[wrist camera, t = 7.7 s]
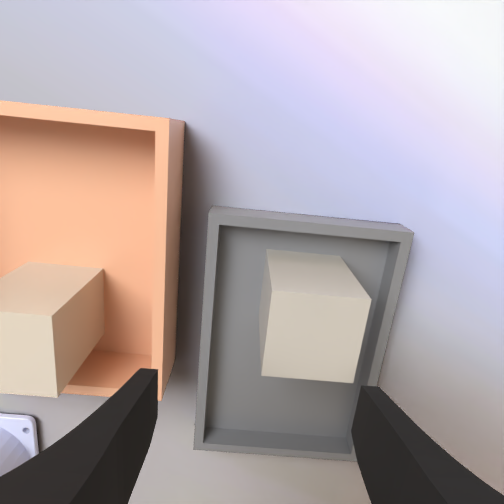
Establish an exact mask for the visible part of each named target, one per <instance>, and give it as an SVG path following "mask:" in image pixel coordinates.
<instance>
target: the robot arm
mask: <svg viewBox="0 0 504 504" xmlns="http://www.w3.org/2000/svg"><path fill="white" fill-rule="evenodd" d="M157 415H158V369H148V368H140V369H139V370H137V371H136V372H135V373H134V374H133V376H132V377H131V378H130V379H129V380H128V381H127V382H126V383H125V384H124V385H123V386H122V387H121V388H120V389H119V390H118V391H116V392H115V393H114V394H113V395H112V396H111V397H110V398H109V399H108V400H107V401H106V402H105V403H104V404H103V405H101V406H100V407H99V408H98V409H97V410H96V411H95V412H94V413H92V414H91V415H90V416H89V417H88V418H86V419H85V420H84V421H83V422H82V423H80V424H79V425H78V426H77V427H76V428H74V429H73V430H72V431H70V432H69V433H68V434H66V435H65V436H64V437H62V438H61V439H60V440H58V441H57V442H55V443H54V444H53V445H51V446H50V447H48V448H47V449H45V450H44V451H42V452H40V453H39V450H38V440H37V430H36V421H35V419H34V418H33V417H32V416H28V415H15V414H2V413H0V504H128V501H129V499H130V496H131V494H132V491H133V488H134V486H135V483H136V481H137V478H138V475H139V473H140V470H141V468H142V465H143V462H144V460H145V457H146V455H147V452H148V449H149V447H150V443H151V440H152V436H153V432H154V428H155V424H156V420H157ZM351 434H352V439H353V444H354V449H355V453H356V458H357V462H358V465H359V468H360V471H361V474H362V477H363V480H364V483H365V486H366V489H367V492H368V495H369V498H370V501H371V503H372V504H504V496H503V495H502V494H501V493H499V492H498V491H496V490H495V489H493V488H492V487H490V486H489V485H488V484H486V483H485V482H483V481H482V480H481V479H479V478H478V477H477V476H476V475H474V474H473V473H472V472H470V471H469V470H468V469H467V468H465V467H464V466H463V465H461V464H460V463H459V462H458V461H456V460H455V459H454V458H453V457H452V456H450V455H449V454H448V453H447V452H446V451H445V450H444V449H442V448H441V447H440V446H439V445H438V444H437V443H436V442H434V441H433V440H432V439H431V438H430V437H429V436H428V435H427V434H426V433H425V432H424V431H423V430H422V429H420V428H419V427H418V426H417V425H416V424H415V423H414V422H413V421H412V420H411V419H410V418H409V417H408V416H407V415H406V414H405V413H404V412H403V411H402V410H401V409H400V408H399V407H398V406H397V405H396V404H395V403H394V402H393V401H392V400H391V399H390V398H389V397H388V396H387V395H386V394H385V393H384V392H383V391H382V390H381V389H380V388H379V387H376V386H364V385H361V388H360V393H359V397H358V402H357V406H356V411H355V415H354V420H353V424H352V429H351Z"/></svg>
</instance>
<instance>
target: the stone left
mask: <svg viewBox="0 0 504 504" xmlns="http://www.w3.org/2000/svg"><path fill="white" fill-rule="evenodd" d="M104 333H105V323H104V281H103V268H93V267H82V266H71V265H61V264H50V263H39V262H27V263H25V264H23V265H22V266H20V267H18V268H17V269H15V270H13V271H11V272H10V273H8V274H6V275H5V276H3V277H1V278H0V393H6V394H19V395H31V396H43V397H56V398H58V396H59V395H60V394H61V392H62V391H63V389H64V388H65V387H66V385H67V384H68V383H69V381H70V380H71V379H72V377H73V376H74V374H75V373H76V372H77V370H78V369H79V368H80V366H81V365H82V363H83V362H84V361H85V359H86V358H87V357H88V355H89V354H90V352H91V351H92V350H93V348H94V347H95V346H96V344H97V343H98V341H99V340H100V339H101V337H102V336H103V335H104Z"/></svg>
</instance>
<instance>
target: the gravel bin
mask: <svg viewBox="0 0 504 504" xmlns="http://www.w3.org/2000/svg"><path fill="white" fill-rule="evenodd" d="M184 128H185V121H181V120H176V119H170V118H161V117H152V116H142V115H133V114H123V113H114V112H104V111H95V110H85V109H76V108H66V107H57V106H47V105H38V104H28V103H19V102H9V101H0V278H1V277H3V276H5V275H6V274H8V273H10V272H11V271H13V270H15V269H17V268H18V267H20V266H22V265H23V264H25V263H27V262H39V263H50V264H61V265H71V266H82V267H93V268H103V281H104V323H105V333H104V335H103V336H102V337H101V339H100V340H99V341H98V343H97V344H96V346H95V347H94V348H93V350H92V351H91V352H90V354H89V355H88V357H87V358H86V359H85V361H84V362H83V363H82V365H81V366H80V368H79V369H78V370H77V372H76V373H75V374H74V376H73V377H72V379H71V380H70V381H69V383H68V384H67V385H66V387H65V388H64V389H63V391H62V392H61V393H68V394H80V395H93V396H106V397H111V396H112V395H113V394H114V393H115V392H116V391H118V390H119V389H120V388H121V387H122V386H123V385H124V384H125V383H126V382H127V381H128V380H129V379H130V378H131V377H132V376H133V374H134V373H135V372H136V371H137V370H139V369H140V368H148V369H158V401H162V398H163V395H164V392H165V389H166V386H167V383H168V380H169V377H170V374H171V371H172V367H173V364H174V361H175V351H176V326H177V301H178V277H179V252H180V227H181V202H182V177H183V153H184Z"/></svg>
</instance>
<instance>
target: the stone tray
mask: <svg viewBox="0 0 504 504" xmlns="http://www.w3.org/2000/svg"><path fill="white" fill-rule="evenodd" d="M413 236H414V232H412V231H411V230H409V229H408V228H406V227H404V226H403V225H401V224H396V223H386V222H375V221H365V220H355V219H345V218H334V217H324V216H314V215H304V214H293V213H283V212H273V211H263V210H252V209H242V208H232V207H222V206H212V207H211V209H210V211H209V214H208V230H207V245H206V261H205V276H204V292H203V308H202V323H201V339H200V355H199V370H198V386H197V402H196V417H195V433H194V448H193V450H206V451H219V452H233V453H246V454H260V455H273V456H287V457H300V458H314V459H327V460H341V461H354V462H357V458H356V453H355V449H354V444H353V439H352V434H351V429H352V424H353V420H354V415H355V411H356V406H357V402H358V397H359V393H360V388H361V385H364V386H376V387H377V383H378V379H379V375H380V370H381V366H382V362H383V358H384V354H385V350H386V346H387V342H388V338H389V334H390V330H391V326H392V321H393V317H394V313H395V309H396V305H397V301H398V297H399V293H400V289H401V285H402V281H403V277H404V272H405V268H406V264H407V260H408V256H409V252H410V248H411V244H412V240H413ZM266 249H272V250H283V251H293V252H304V253H315V254H325V255H336V256H340V257H341V258H342V260H343V261H344V262H345V264H346V265H347V266H348V268H349V269H350V271H351V272H352V273H353V275H354V276H355V277H356V279H357V280H358V282H359V283H360V284H361V286H362V287H363V288H364V290H365V291H366V293H367V294H368V295H369V297H370V298H371V299H372V300H371V304H370V309H369V313H368V318H367V322H366V327H365V332H364V336H363V341H362V345H361V350H360V354H359V359H358V363H357V368H356V372H355V377H354V381H353V383H344V382H332V381H320V380H308V379H295V378H283V377H271V376H261V358H260V336H259V307H260V299H261V290H262V282H263V273H264V265H265V256H266Z"/></svg>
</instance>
